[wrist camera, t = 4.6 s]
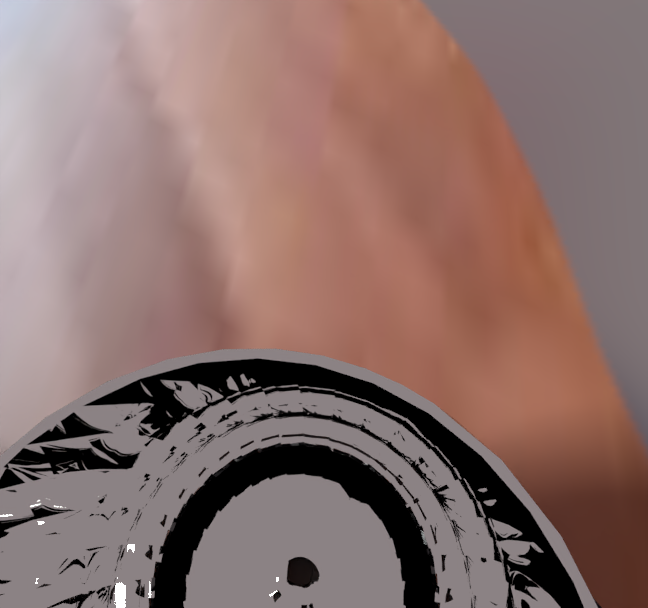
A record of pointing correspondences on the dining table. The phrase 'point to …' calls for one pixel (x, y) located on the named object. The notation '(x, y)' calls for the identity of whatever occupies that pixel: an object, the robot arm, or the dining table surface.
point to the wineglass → (269, 497)
